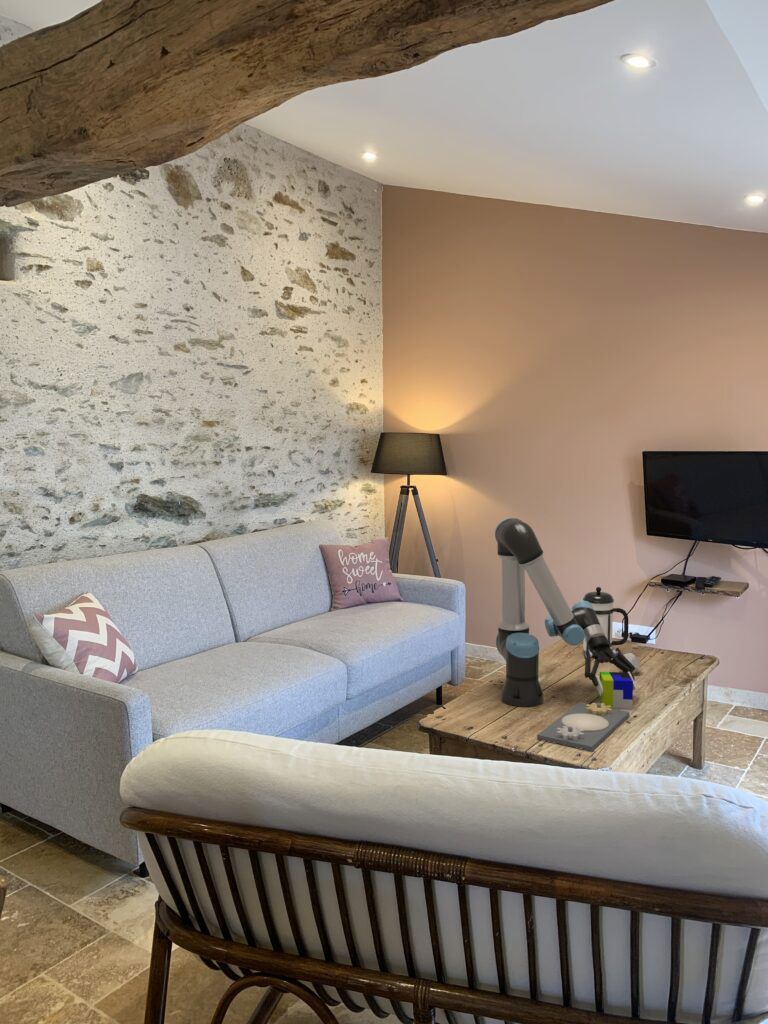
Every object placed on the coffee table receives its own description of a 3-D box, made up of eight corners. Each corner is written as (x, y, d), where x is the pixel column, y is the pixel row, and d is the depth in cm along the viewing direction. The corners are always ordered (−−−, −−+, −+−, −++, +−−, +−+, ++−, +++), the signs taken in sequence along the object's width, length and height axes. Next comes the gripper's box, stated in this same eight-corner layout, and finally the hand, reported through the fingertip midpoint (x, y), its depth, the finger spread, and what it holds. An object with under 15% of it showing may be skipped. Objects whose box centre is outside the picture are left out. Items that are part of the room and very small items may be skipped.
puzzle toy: (632, 708, 287) (633, 681, 286) (603, 707, 288) (603, 680, 287) (627, 699, 297) (627, 672, 296) (599, 698, 298) (599, 671, 297)
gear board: (591, 751, 250) (592, 738, 250) (537, 739, 260) (537, 726, 260) (629, 716, 280) (629, 704, 279) (578, 706, 290) (579, 695, 289)
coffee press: (598, 662, 342) (599, 592, 339) (572, 653, 356) (573, 585, 353) (628, 656, 350) (630, 587, 347) (602, 648, 364) (603, 581, 361)
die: (629, 670, 334) (615, 652, 333) (647, 663, 328) (633, 645, 327) (625, 682, 327) (611, 664, 326) (643, 675, 322) (629, 657, 321)
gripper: (620, 641, 310) (643, 692, 297) (562, 647, 303) (584, 700, 290) (628, 631, 305) (652, 682, 292) (570, 637, 297) (592, 690, 285)
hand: (618, 691), depth 291 cm, fingers closed on puzzle toy, 12 cm apart
